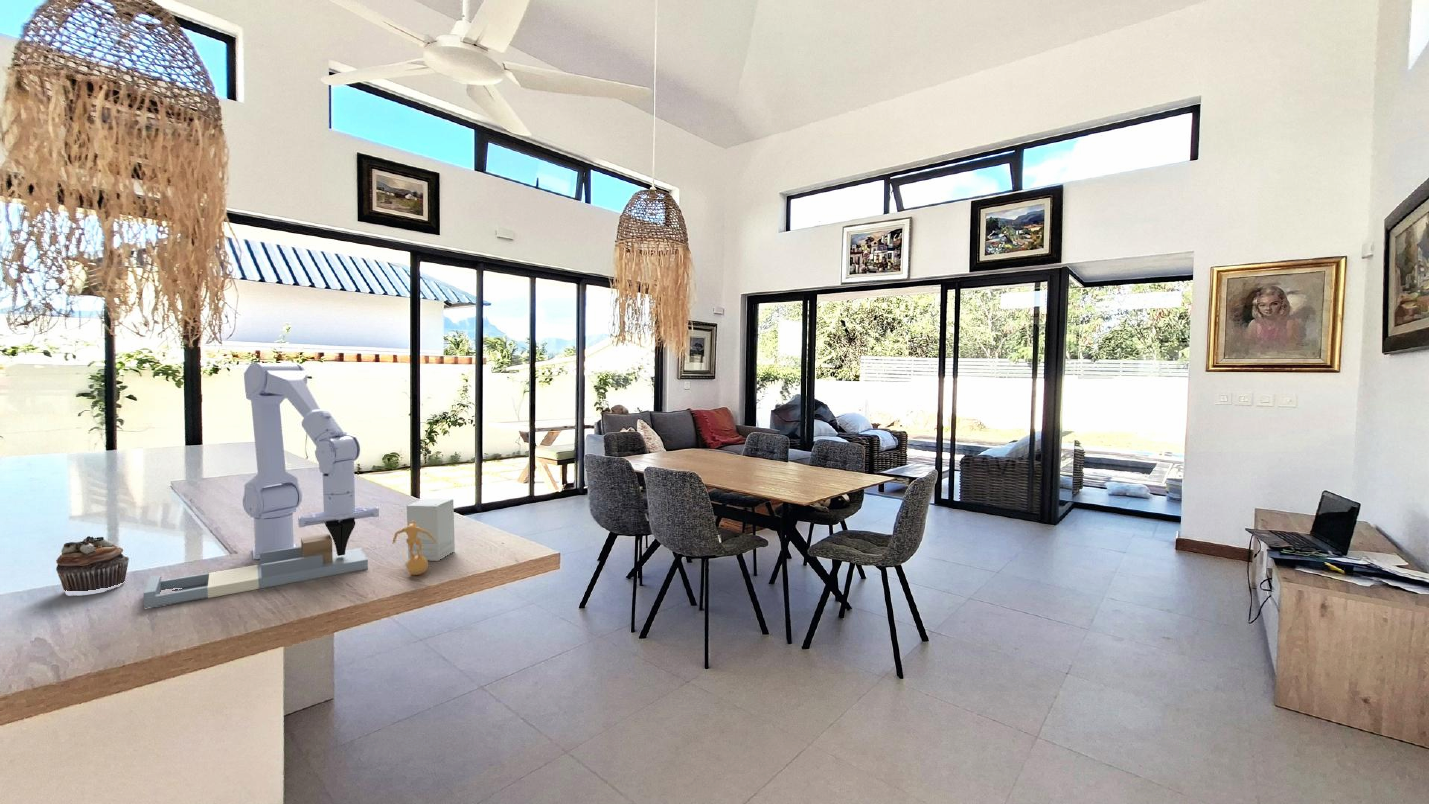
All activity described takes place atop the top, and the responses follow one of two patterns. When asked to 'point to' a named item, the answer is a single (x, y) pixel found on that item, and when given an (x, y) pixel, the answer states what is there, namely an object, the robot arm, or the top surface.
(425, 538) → the supplement box
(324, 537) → the block
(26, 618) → the top surface
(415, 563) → the figurine
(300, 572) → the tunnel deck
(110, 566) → the cupcake
